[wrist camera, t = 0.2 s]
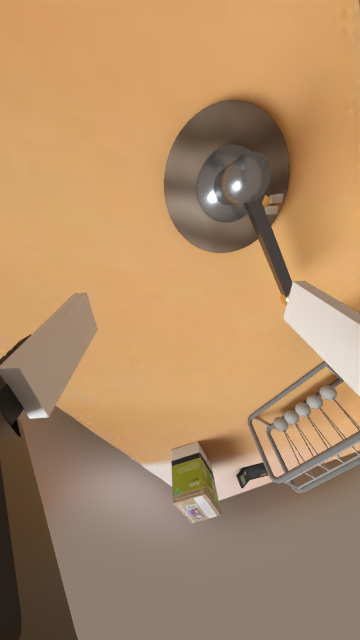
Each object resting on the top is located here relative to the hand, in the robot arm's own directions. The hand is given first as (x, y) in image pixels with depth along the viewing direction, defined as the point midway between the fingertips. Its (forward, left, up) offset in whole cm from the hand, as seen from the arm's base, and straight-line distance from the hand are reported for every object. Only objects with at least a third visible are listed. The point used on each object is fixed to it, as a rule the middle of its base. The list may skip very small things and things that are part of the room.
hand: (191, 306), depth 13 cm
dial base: (-9, +9, -28) cm, 30 cm away
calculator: (+84, +25, -28) cm, 92 cm away
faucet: (-2, +13, -25) cm, 28 cm away
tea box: (+69, +2, -28) cm, 75 cm away
